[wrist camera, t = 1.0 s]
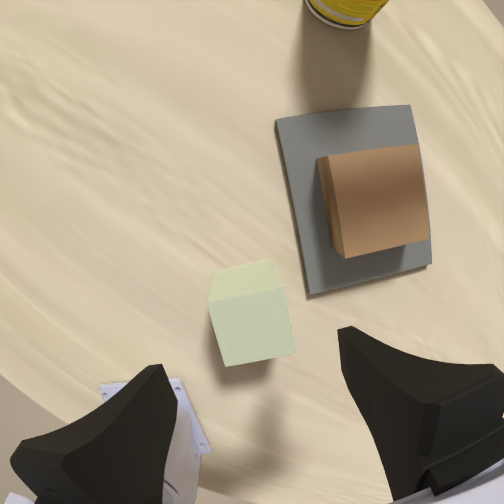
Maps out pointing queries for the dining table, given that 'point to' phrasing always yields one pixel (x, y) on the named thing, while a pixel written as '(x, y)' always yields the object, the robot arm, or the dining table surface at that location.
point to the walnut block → (374, 199)
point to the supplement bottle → (345, 11)
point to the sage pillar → (250, 313)
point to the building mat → (311, 196)
